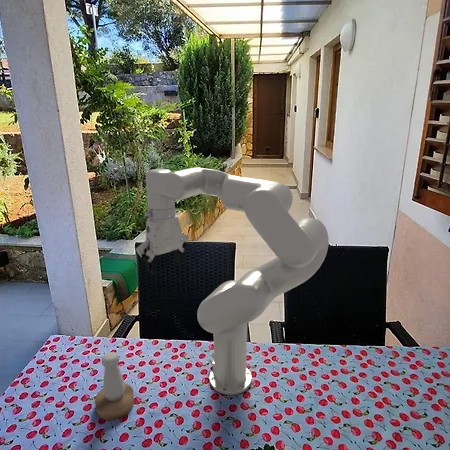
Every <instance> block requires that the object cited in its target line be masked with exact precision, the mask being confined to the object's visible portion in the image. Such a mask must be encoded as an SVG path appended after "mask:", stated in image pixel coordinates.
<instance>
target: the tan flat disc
mask: <svg viewBox="0 0 450 450" xmlns="http://www.w3.org/2000/svg"><path fill="white" fill-rule="evenodd" d="M134 405H135V395H134V389H133V388H132V386H131V385H129V384H128V383H125V391H124V393H123V395H122V397H121V399H119V400H117V401H115V402H113V401H108V400H107V398H106V397H105V396H104V394H103V388H101V389H100V390H99V392H98V393H97V394H96V395H95V399H94V406H95V413H96V415H97V417H99V418H100V419H102V420H105V421H115V420H118V419H119V420H120V419H121V418H123V417H125V416H126V415H127V414H129V413H130V412H131V410H132V409H133V407H134Z"/></svg>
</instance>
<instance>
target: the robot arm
mask: <svg viewBox="0 0 450 450" xmlns="http://www.w3.org/2000/svg"><path fill="white" fill-rule="evenodd" d="M145 183H146V184H145V185H146V196H147V211H145V212H144V214H143V215H144V217H145V218H146V224H145V225H146V226H145V240H144V241H143V242H142V243H141V244H140V245H139V246H137V247H136V249H135V250H136V252H137V253H138V255H139V257H140V258H142V259H143V260H145V267H146V271H147V272H148V273H149V274H151V275H155V274H156V269H155V261H153V260H154V258H155V256H159V255H160V256H161V255H163V254H167V253H171V252H174V263H176V264H178V265H180V266H182V265H183V264H184V263H183V261H184V254H183V253H184V252H185V248H186V247H187V245H188V241H189V239H190V235H187V234H185V233H182V226H181V222H180V218H179V215H176V205H175V203H176V202H175V201H182V200H185V199H188V198H190V197H194V196H196V195H207V196H212V197H216V198H219V199H220V201H221V204H222V206H223V207H224V208H225V209H227V210H231V211H236V212H241V213H245V216H246V218H247V220H248V222H249V223H250V224H251V226H252V227H253V229H254V230H255V232H257V234H258V235H259V236H260V237H261V239H262V240H263V241H264V242H265V244H266V245H267V246H268V247H269V248H270V250H271V251H272V252H273V253H274V255H275V256H276V257H275V258H273V259H272V260H269V261H267V262H265V263H264V264H262V265H260V266H258V267H256V268H253V269H252V270H251V269H250V270H249V271H247V272H246V273H245V274H244V275H243V276H241V278H240V279H238V280H234V279H233V280H232V279H231V280H227V281H224V282H223V283H221V284H220V285H218V287H217V288H215V289H214V290H213V291H212V292H211V293H210V294H209V295H208V296H207V297H206V298H205V299H203V300H202V302H201V303H200V304H199V307H198V309H197V312H196V314H197V321H198V324H199V325H200V327H201V328H202V329H203V330H205V331H206V332H208V333H211V334H213V352H212V354H211V357H209V359H208V363H210V364H211V365H212V370H211V371H210V372H209V385H210V386H211V388H213V390H215V391H216V392H218V393H219V394H223V395H226V396H227V395H228V396H235V395H239V394H241V393H244V392H245V391H247V390H248V389H249V387H250V386H251V383H252V373H251V371H250V370H249V369H248V368H247V355H248V354H247V351H248V350H247V349H248V347H247V345H248V344H247V342H248V340H247V339H248V338H247V337H248V324H249V323H251V322H253V321H255V320H257V318H260V316H261V315H262V314H263V313H264V312H265V311H266V309H267V308H268V307H269V305H270V304H271V303H272V302H273V301H274V300H275V299H276V298H277V297H278V296H281V295H282V294H284V293H287V292H289V291H291V290H292V289H294V288H296V287H298V286H299V285H301V284H304V283H305V282H307V281H308V280H309V279H310V278H311V277H312V276H314V275H315V274H316V272H317V271H318V270H319V269H320V267H321V266H322V264H323V262H324V261H325V258H326V257H327V254H328V250H329V249H328V248H329V234H328V230H327V226H326V225H325V224H324V223H323V222H322V221H321V220H320V219H317V218H314V217H305V218H302V219H299V220H297V221H296V220H295V219H294V217H293V216H292V215H291V214H290V212H289V211H290V209H291V207H292V204H293V200H294V199H293V193H292V190H291V188H290V187H288V186H287V185H286V184H284V183H282V182H278V181H274V180H273V181H272V180H267V179H259V178H253V177H245V176H238V175H233V174H231V173H227V172H224V171H221V170H218V169H210V168H203V167H190V168H185V169H181V170H176V171H172V170H171V169H167V168H155V169H153V168H152V169H149V170H147V171H146V172H145ZM147 217H148V218H147ZM145 249H146V253H145Z"/></svg>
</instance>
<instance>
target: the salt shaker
mask: <svg viewBox="0 0 450 450" xmlns="http://www.w3.org/2000/svg"><path fill="white" fill-rule="evenodd" d="M119 362H120V357H119V354H118V353H117V352H115V351H109V352H107V353H104V355H103V356H102V357H101V364H102V366H103V367H104V372H103V373H104V375H103V386H102V387H103V388H102V389H103V394H104V396H105V397H106V398H107V400H108V401H113V402H115V401H117V400H119V399H121V397H122V395H123V393H124V391H125V384H126V383H125V380H124V378H123V375H122V372H121V369H120V367H119Z"/></svg>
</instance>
